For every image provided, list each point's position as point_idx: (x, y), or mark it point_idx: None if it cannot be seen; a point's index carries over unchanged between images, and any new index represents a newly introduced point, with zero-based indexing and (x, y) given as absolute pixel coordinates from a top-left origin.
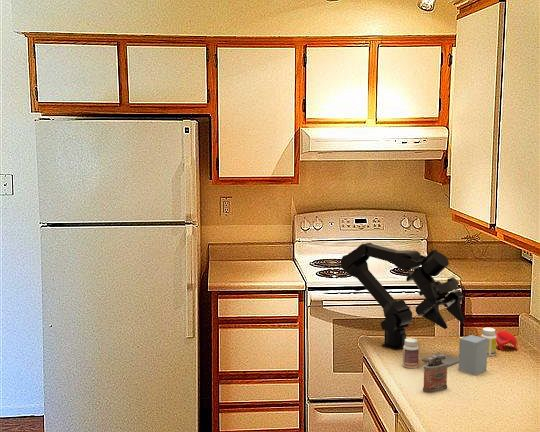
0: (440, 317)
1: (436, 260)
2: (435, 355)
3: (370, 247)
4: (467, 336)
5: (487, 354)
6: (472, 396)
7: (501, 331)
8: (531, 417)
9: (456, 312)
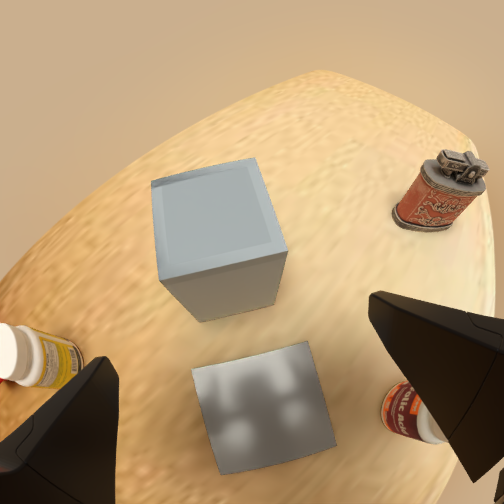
0: (467, 316)
1: None
2: (258, 456)
3: None
4: (207, 261)
5: (77, 350)
6: (357, 152)
7: None
8: (304, 77)
9: (81, 458)
